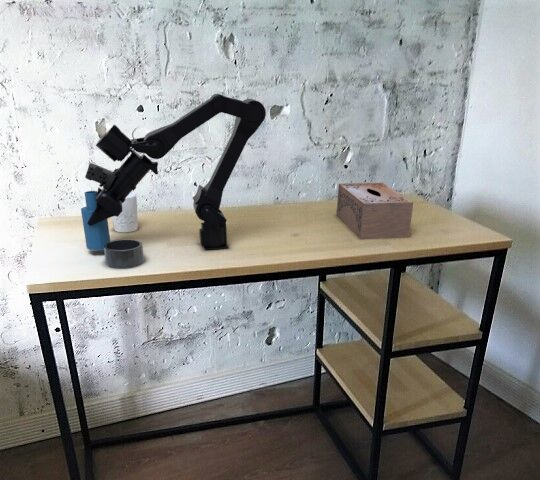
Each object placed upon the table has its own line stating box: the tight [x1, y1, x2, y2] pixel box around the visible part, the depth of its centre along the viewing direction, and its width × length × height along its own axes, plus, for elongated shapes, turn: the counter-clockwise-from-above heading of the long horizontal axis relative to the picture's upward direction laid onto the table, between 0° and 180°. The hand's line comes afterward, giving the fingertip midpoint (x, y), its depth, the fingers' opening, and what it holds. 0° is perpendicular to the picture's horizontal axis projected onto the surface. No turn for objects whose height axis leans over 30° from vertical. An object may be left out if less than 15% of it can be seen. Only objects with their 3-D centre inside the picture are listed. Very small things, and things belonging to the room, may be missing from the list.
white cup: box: [111, 191, 139, 233], centre depth 162 cm, size 8×8×10 cm
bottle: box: [80, 190, 111, 251], centre depth 141 cm, size 6×6×14 cm
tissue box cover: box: [336, 182, 414, 240], centre depth 169 cm, size 26×14×10 cm, turn 9°
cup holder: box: [103, 238, 145, 270], centre depth 138 cm, size 9×9×4 cm
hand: (89, 221), depth 141 cm, fingers closed on bottle, 6 cm apart
